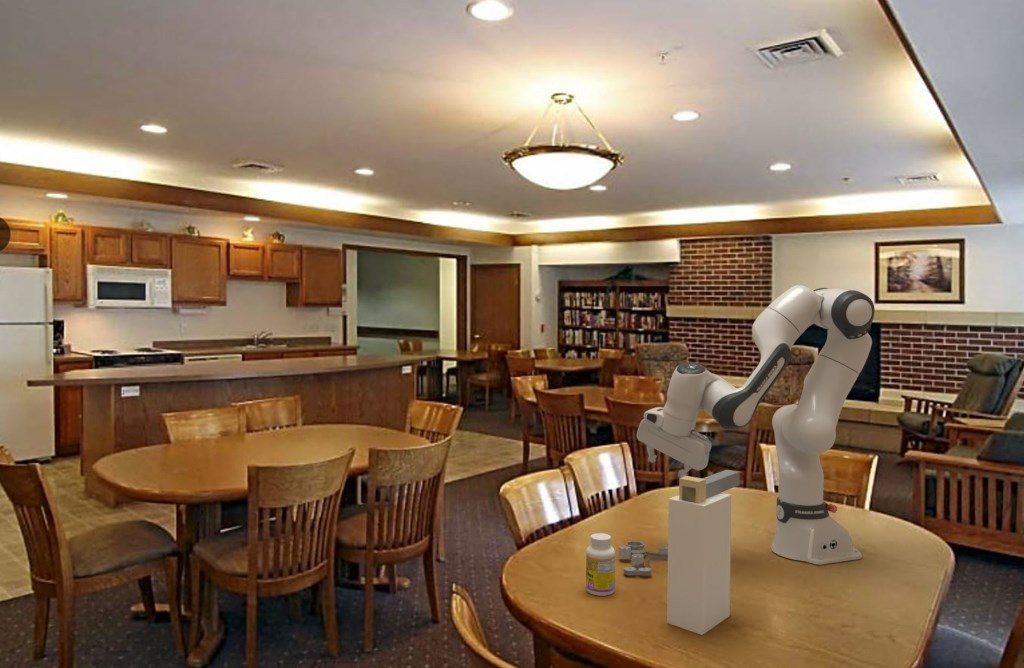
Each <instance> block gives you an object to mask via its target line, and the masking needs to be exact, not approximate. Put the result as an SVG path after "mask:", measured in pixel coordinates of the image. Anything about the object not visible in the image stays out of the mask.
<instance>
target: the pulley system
mask: <svg viewBox="0 0 1024 668" xmlns="http://www.w3.org/2000/svg"><path fill="white" fill-rule="evenodd" d="M646 555H648V556H649V557H648V558H647V559H648V560H647V562H648V567H644V566H645V562H644V561H645V560H644V559H645V558H646ZM618 559H622V560H631V559H632V560H631V565H632V566H626V567H623V569H622V570H623V574H624V575H626V576H627V577H630V576H631V577H633V576H643V577H644V576H651V575H652V569H651V564H650V562H651V561H666V560H667V561H668V545H664V544H663V545H659V546H658V553H656V552H650V551H647V549H646V548H645V542H641V541H633V540H632V541H628V542H625V545H619V546H618ZM637 569H638V570H637Z"/></svg>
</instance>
